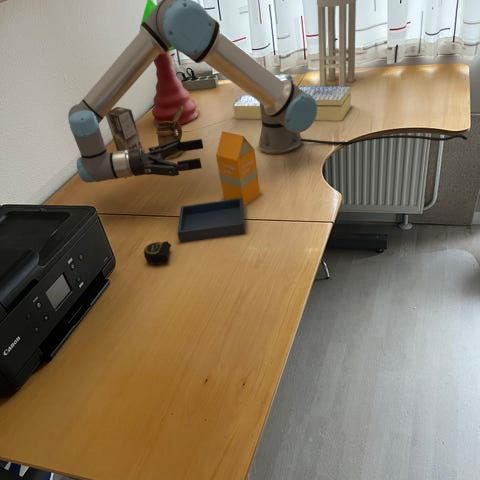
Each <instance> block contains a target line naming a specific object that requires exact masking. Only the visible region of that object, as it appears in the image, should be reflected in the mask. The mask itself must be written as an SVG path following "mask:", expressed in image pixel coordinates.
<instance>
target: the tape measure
mask: <svg viewBox="0 0 480 480" xmlns="http://www.w3.org/2000/svg"><path fill="white" fill-rule="evenodd" d="M171 247H172V244H171V243H169V241H168V240H167V241H163V242H162V241H156V242H151V243H149V244H147V245H146V246H145V247H144V249H143V256H144V259H145V261H146V262H147V263H148V264H150V265H151V264H152V265H158V264H163V263H167V262H168V261H169V254H170V252H171V251H170V250H171Z"/></svg>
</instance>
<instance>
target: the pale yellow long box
mask: <svg viewBox="0 0 480 480" xmlns="http://www.w3.org/2000/svg"><path fill="white" fill-rule="evenodd" d="M296 86H297V87H298V88H300V89H301V90H302V91H304V92H305V93H307V94H310V95H311V96H312V97H313V98H314V99H315V101H316V103H317V115H316V118H315V120H314V121H334V122H335V121H338V122H339V121H340V122H341V121H343V119H344V118H345V116H346V114H347V113H348V111H349V110H350V109H351V107H352V103H351V102H352V93H351V92H352V85H346V86H345V87H343V86H340V87H339V85H327V86H320V85H296ZM232 108H233V115H234V119H247V120H248V119H249V120H250V119H251V120H262V119H261V110H260V102H259V101H257V100H256V99H255V98H253V97H252V96H250V95H249V94H240V95H237V96H236V97H235V100H234V103H233V104H232Z"/></svg>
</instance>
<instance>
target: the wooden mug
mask: <svg viewBox="0 0 480 480" xmlns="http://www.w3.org/2000/svg"><path fill="white" fill-rule="evenodd" d="M182 110H183V107H182V105H181V106H179V108H178V109H177V111H176V112H175V114H174V116H173V119H172V122H170V121H164V122H161V123H158V124H157V125H156V124H155V125H156V126H155V127H156V130H155V134H156V135H157V136H156V137H157V143H158V145H161V144H164V143H167V142H170V141H173V140H176V139H180V141H181V140H182V137H183V128H182V125H180V124H179V123H178V119H179V117H180V115H181V113H182ZM176 131H177V132H176ZM182 154H183V152H182V150H181V151H179V152H177V153H174V154H172V155H170V156H168V157H166V158H165V160H170V159H175V158H178V157H179V156H181V155H182Z"/></svg>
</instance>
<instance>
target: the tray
mask: <svg viewBox="0 0 480 480" xmlns="http://www.w3.org/2000/svg"><path fill="white" fill-rule="evenodd" d="M179 209H180V210H179V218H178V226H177V231H176V232H177V236H178V240H179V243H184V242H192V241H193V242H194V241H199V240H200V241H201V240H208V239H215V238H222V237H229V236H237V235H243V234H246V227H245V225H246V224H245V212H244V211H245V209H244V205H243V201H242V198H237V199H229V200H226V199H224V200H223V199H222V200H215V201H209V202H208V201H207V202H202V203H195V204H194V203H193V204H187V205H181V206H180V208H179Z"/></svg>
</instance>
